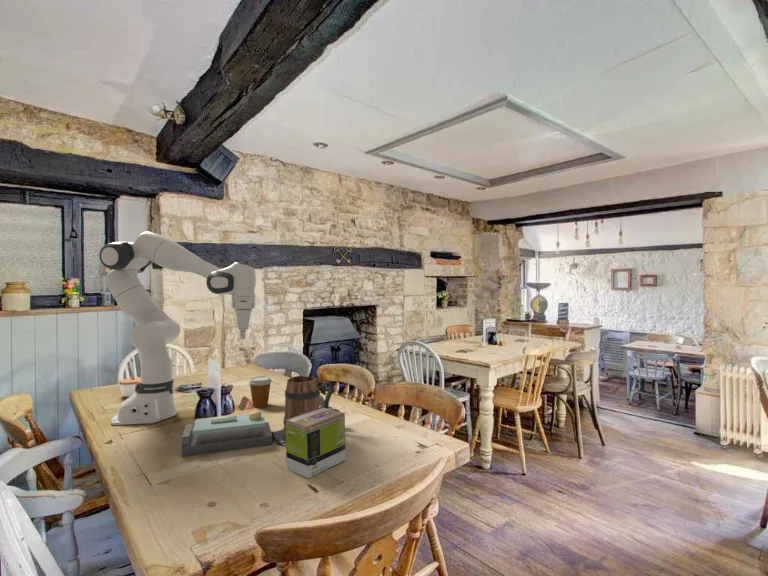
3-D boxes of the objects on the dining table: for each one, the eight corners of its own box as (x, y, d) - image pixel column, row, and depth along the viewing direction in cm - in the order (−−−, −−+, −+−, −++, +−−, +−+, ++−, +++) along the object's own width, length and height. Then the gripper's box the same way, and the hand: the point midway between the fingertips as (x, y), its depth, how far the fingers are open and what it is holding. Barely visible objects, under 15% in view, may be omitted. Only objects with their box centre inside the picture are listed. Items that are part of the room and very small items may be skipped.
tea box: (323, 452, 128) (323, 406, 128) (346, 461, 121) (346, 412, 121) (284, 469, 116) (284, 418, 116) (307, 480, 110) (307, 426, 110)
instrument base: (181, 456, 124) (181, 438, 124) (186, 440, 137) (186, 423, 137) (271, 444, 134) (271, 427, 134) (268, 430, 147) (268, 414, 147)
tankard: (289, 448, 130) (289, 387, 130) (270, 433, 144) (270, 377, 144) (351, 433, 144) (351, 377, 144) (328, 420, 158) (328, 369, 158)
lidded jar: (121, 394, 194) (121, 375, 194) (147, 391, 198) (147, 373, 198) (117, 400, 184) (117, 379, 184) (144, 397, 189) (144, 377, 189)
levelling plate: (192, 435, 126) (192, 424, 126) (196, 422, 137) (196, 413, 137) (265, 426, 134) (265, 416, 134) (263, 415, 145) (263, 406, 145)
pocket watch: (334, 409, 172) (334, 385, 172) (330, 415, 163) (330, 390, 163) (316, 408, 173) (316, 385, 172) (310, 414, 164) (310, 390, 164)
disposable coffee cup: (267, 409, 171) (267, 381, 171) (245, 408, 172) (245, 380, 172) (274, 402, 181) (274, 375, 181) (253, 402, 181) (253, 375, 181)
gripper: (235, 302, 167) (234, 335, 167) (234, 304, 148) (233, 342, 148) (251, 302, 169) (250, 334, 169) (252, 305, 150) (251, 342, 150)
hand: (242, 338), depth 158 cm, fingers closed
